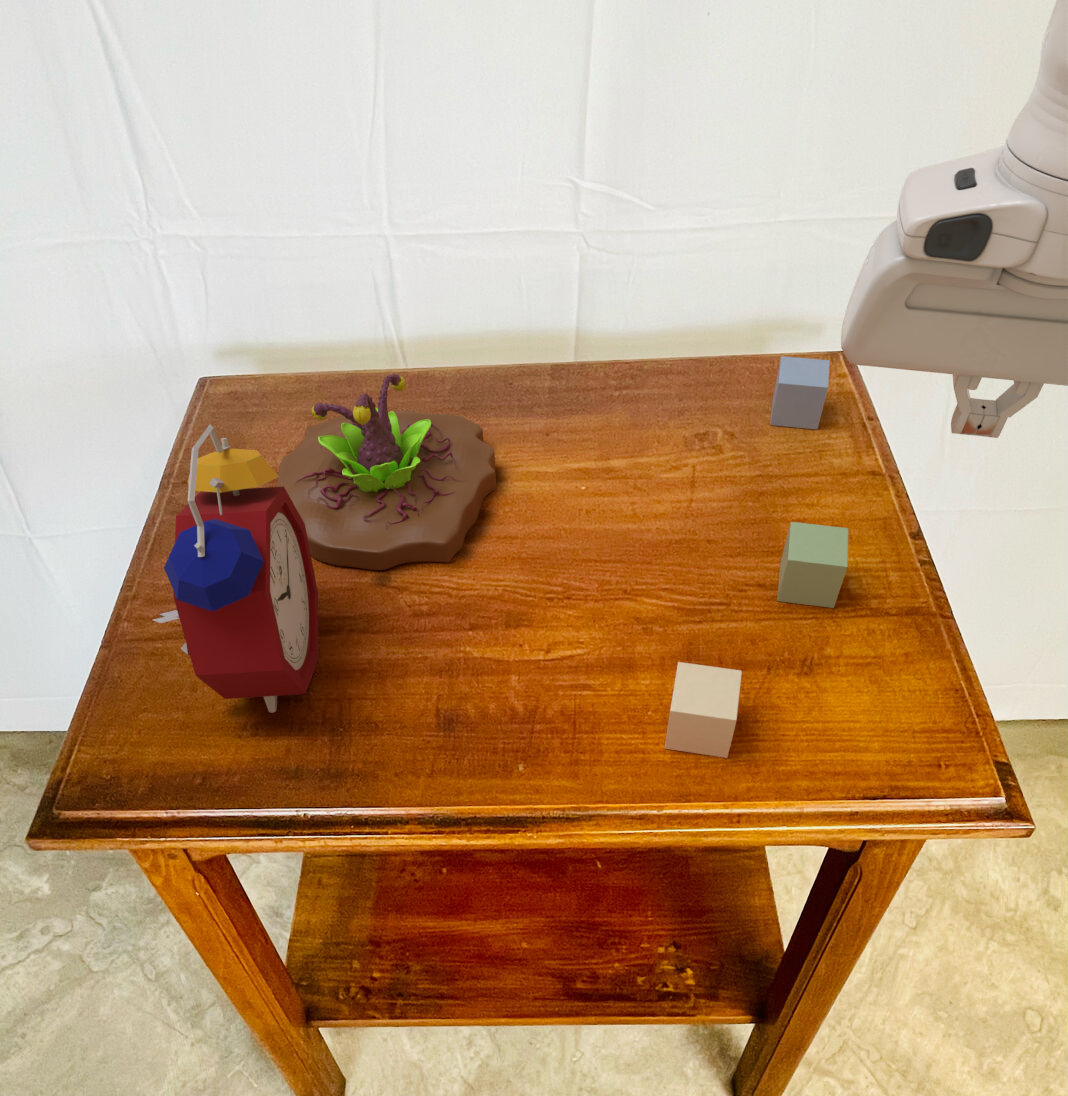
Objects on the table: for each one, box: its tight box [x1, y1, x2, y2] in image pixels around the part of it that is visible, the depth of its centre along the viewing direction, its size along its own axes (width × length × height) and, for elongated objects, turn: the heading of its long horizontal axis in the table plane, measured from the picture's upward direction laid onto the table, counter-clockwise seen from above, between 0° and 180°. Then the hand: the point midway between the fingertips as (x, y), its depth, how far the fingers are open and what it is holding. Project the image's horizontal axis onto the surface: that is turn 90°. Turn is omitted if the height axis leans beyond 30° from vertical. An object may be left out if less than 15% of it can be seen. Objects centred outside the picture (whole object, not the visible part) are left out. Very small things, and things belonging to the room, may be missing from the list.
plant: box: [275, 373, 497, 571], centre depth 78 cm, size 20×20×11 cm
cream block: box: [664, 661, 743, 759], centre depth 64 cm, size 4×4×4 cm
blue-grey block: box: [769, 355, 831, 431], centre depth 86 cm, size 4×4×4 cm
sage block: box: [776, 521, 849, 609], centre depth 72 cm, size 4×4×4 cm
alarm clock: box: [152, 423, 319, 714], centre depth 63 cm, size 15×9×20 cm, turn 3°
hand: (973, 430), depth 60 cm, fingers closed
